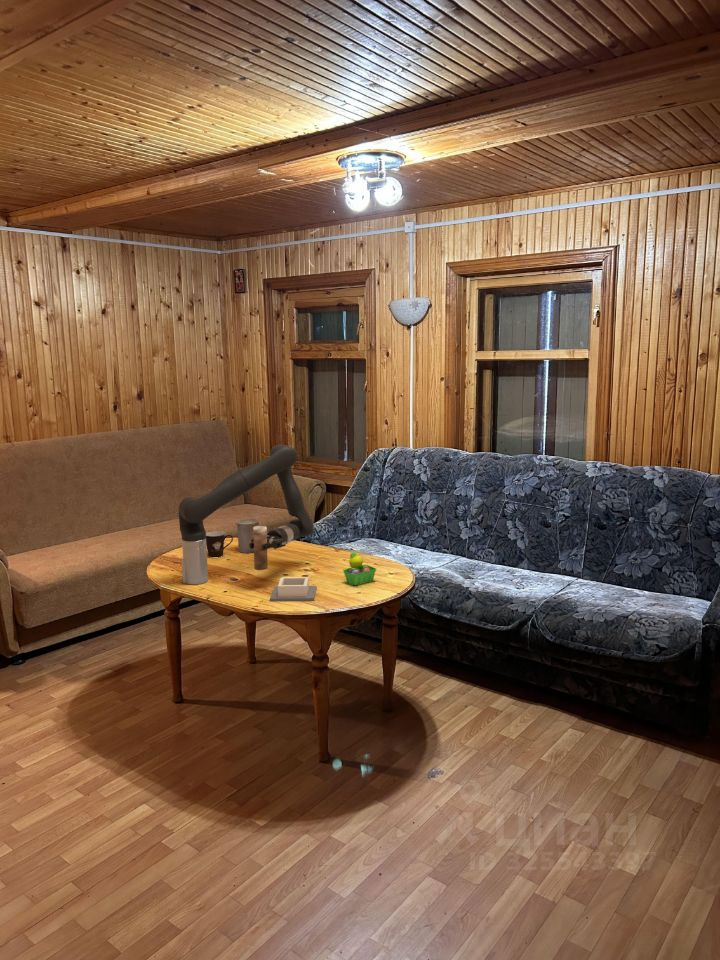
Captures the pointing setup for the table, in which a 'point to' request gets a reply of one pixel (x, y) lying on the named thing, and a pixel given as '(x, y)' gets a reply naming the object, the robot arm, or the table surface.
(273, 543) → the robot arm
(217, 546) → the coffee mug
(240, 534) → the pillar candle
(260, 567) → the walnut post
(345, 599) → the table surface
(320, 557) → the table surface
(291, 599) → the post well
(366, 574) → the fruit basket
